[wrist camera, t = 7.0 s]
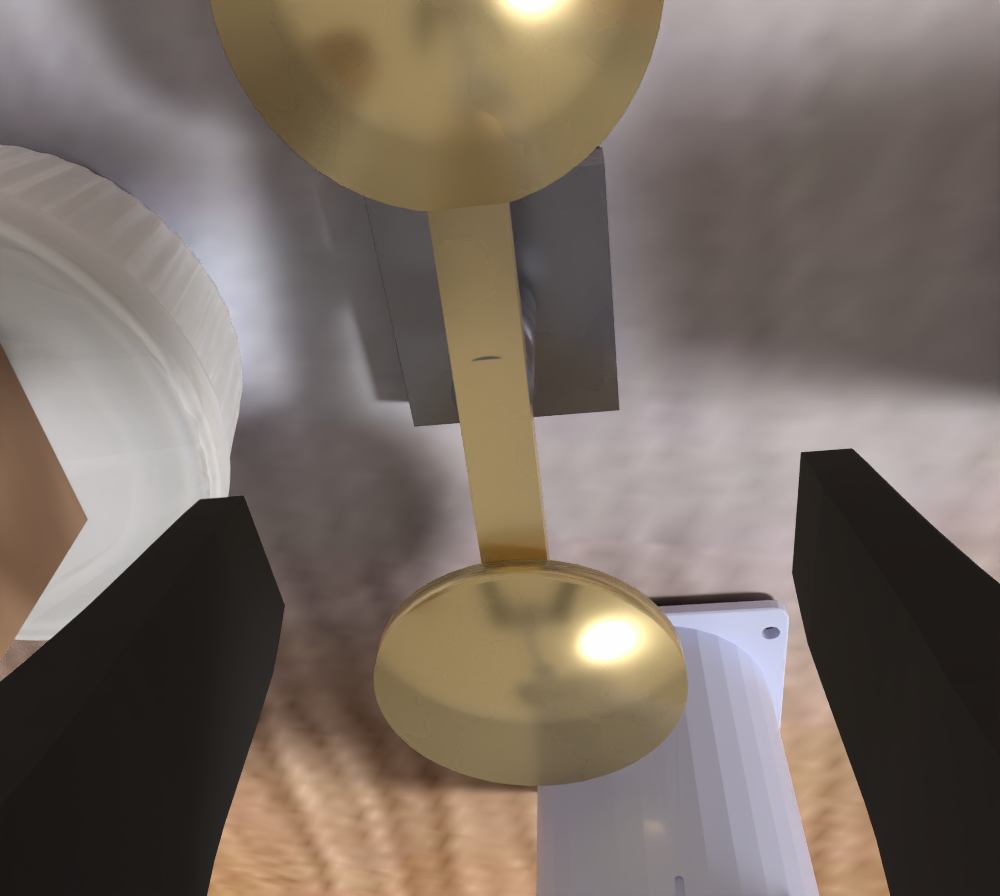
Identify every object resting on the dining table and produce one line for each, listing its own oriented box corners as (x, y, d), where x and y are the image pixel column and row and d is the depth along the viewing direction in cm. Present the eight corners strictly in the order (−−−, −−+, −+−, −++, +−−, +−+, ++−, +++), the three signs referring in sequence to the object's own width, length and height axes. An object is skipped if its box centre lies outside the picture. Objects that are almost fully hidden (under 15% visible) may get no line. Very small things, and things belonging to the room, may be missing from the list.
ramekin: (27, -19, 18) (-133, 43, 14) (372, 389, 24) (333, 526, 19) (-281, 259, 22) (-480, 375, 18) (74, 556, 27) (-13, 700, 23)
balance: (664, 599, 27) (689, 780, 22) (430, 613, 28) (405, 790, 23) (636, -318, 15) (676, -363, 10) (222, -251, 16) (76, -262, 11)
